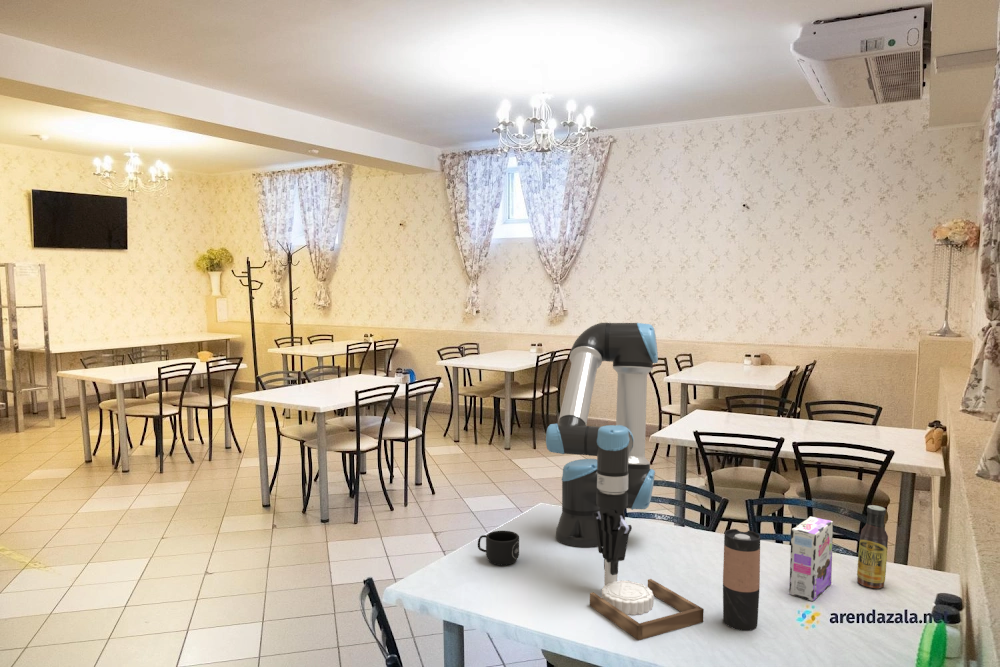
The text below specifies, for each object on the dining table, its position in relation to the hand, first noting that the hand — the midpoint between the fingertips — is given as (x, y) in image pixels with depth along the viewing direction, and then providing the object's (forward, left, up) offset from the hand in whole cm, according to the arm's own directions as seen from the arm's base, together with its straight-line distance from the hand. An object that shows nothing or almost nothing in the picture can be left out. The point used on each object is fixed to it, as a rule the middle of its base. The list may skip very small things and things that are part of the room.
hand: (610, 585), depth 168 cm
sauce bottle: (+26, +61, -2) cm, 67 cm away
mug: (-30, -16, -2) cm, 34 cm away
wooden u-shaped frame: (+13, 0, -2) cm, 13 cm away
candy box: (+21, +45, -2) cm, 50 cm away
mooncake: (+7, 0, -2) cm, 7 cm away
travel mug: (+26, +16, -2) cm, 31 cm away
